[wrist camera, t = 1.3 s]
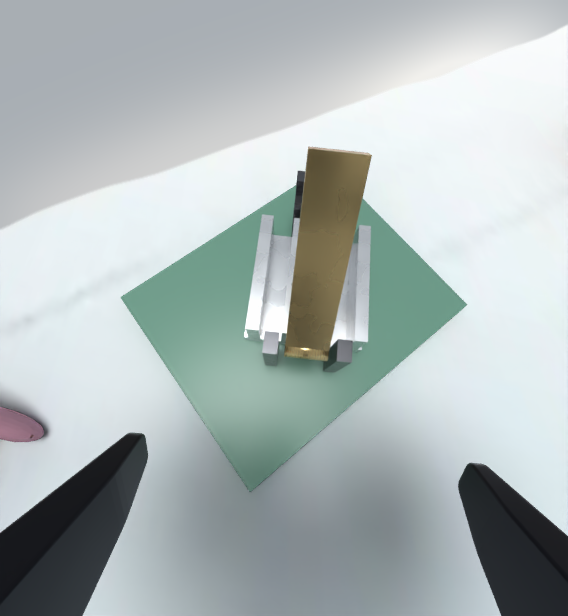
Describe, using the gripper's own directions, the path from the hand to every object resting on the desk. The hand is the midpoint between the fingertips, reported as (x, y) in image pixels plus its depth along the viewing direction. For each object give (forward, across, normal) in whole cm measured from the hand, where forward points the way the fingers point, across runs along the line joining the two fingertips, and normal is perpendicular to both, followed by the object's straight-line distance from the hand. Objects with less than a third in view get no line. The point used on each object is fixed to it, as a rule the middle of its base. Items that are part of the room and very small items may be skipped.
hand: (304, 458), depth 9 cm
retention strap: (+9, -1, -3) cm, 9 cm away
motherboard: (+16, 0, +3) cm, 16 cm away
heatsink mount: (+16, -1, +1) cm, 16 cm away
